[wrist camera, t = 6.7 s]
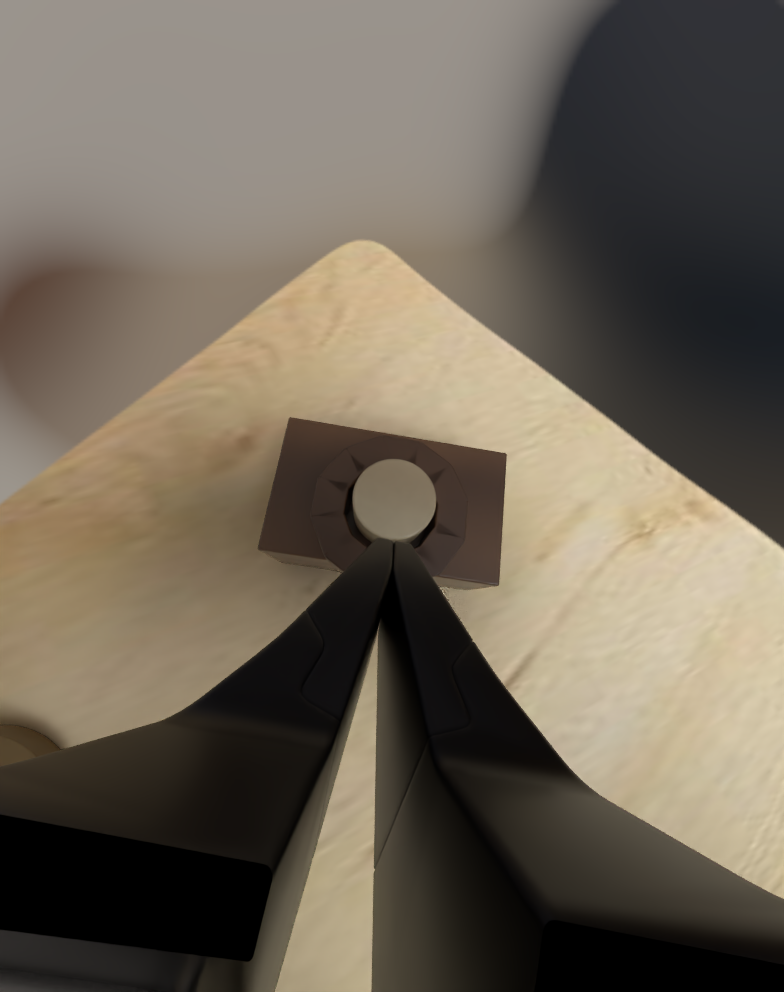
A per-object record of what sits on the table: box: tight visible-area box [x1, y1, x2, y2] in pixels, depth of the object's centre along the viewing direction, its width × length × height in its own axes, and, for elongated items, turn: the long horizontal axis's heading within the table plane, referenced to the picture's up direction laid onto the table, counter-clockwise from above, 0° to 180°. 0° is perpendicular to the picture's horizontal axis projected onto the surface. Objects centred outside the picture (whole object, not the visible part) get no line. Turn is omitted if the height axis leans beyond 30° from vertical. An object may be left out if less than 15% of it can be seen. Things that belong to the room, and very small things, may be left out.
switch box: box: [258, 418, 507, 590], centre depth 17 cm, size 7×10×7 cm
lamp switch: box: [352, 459, 436, 543], centre depth 13 cm, size 3×3×2 cm
